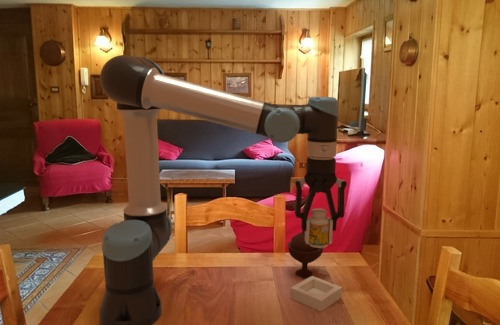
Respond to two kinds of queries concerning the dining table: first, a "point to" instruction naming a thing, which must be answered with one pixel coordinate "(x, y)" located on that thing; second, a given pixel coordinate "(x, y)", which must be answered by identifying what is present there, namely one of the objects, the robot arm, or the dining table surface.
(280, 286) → the dining table surface
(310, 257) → the ice cream bowl
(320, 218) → the supplement bottle
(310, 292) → the holder
